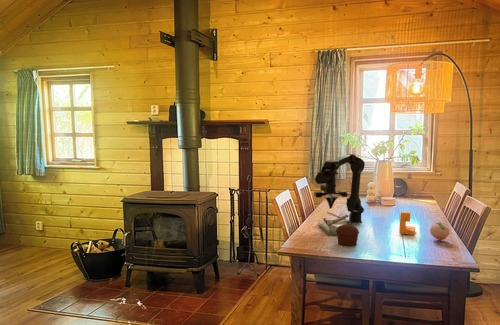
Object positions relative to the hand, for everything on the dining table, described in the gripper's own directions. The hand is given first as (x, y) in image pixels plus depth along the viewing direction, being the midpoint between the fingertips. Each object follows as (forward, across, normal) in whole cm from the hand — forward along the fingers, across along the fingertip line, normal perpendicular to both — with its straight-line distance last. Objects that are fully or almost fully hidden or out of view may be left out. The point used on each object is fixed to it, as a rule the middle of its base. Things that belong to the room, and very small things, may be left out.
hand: (330, 208), depth 221 cm
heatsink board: (+12, -3, +5) cm, 13 cm away
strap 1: (+5, -4, 0) cm, 7 cm away
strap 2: (+5, -2, +9) cm, 11 cm away
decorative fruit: (+12, -49, +31) cm, 59 cm away
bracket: (+12, -40, +15) cm, 44 cm away
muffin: (+12, 0, +32) cm, 34 cm away
